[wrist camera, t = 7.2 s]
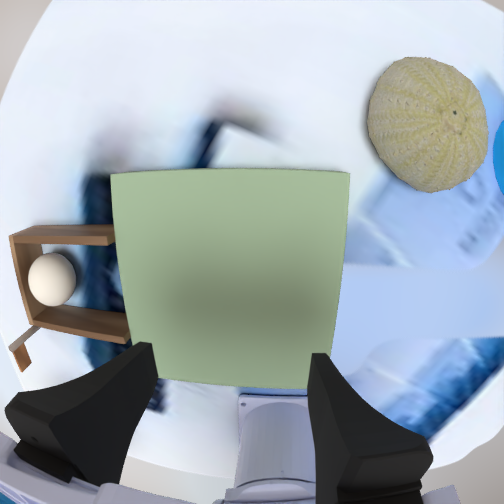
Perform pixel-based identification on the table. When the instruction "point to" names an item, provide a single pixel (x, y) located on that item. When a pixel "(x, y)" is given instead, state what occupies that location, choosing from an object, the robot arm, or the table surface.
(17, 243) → the open wooden cubby
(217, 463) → the table surface
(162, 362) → the green
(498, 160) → the mug
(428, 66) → the sea urchin shell
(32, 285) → the ball
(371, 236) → the table surface
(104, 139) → the table surface
